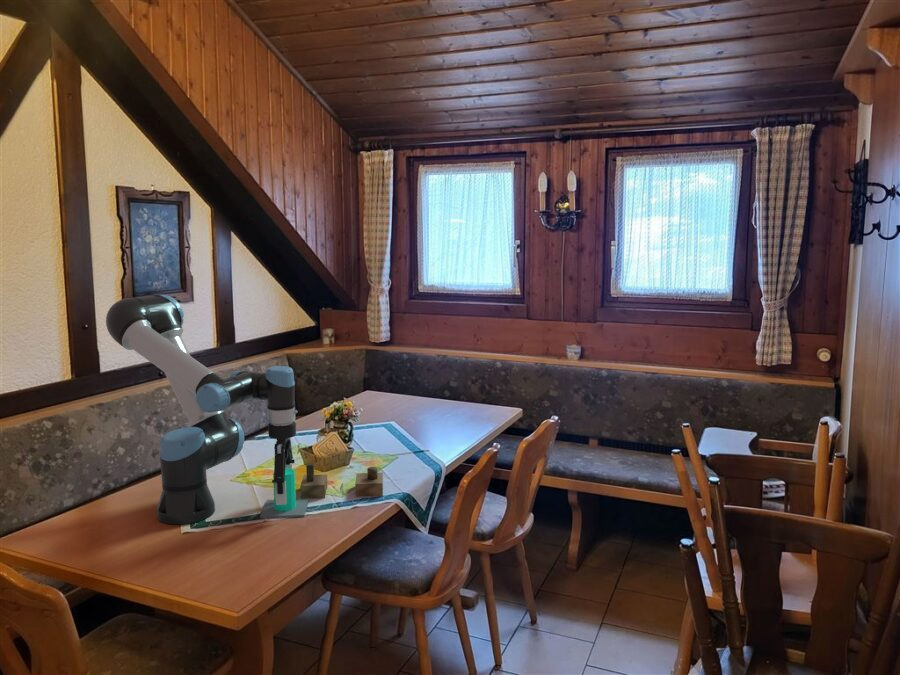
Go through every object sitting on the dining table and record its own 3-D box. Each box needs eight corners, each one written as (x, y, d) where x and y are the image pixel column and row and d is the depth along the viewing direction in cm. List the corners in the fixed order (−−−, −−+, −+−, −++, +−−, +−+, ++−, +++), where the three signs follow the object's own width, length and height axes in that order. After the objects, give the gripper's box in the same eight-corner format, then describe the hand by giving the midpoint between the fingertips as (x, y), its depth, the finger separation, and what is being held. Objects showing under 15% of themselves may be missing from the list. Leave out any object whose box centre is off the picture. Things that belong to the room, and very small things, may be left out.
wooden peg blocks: (300, 498, 212) (299, 469, 211) (304, 487, 221) (303, 459, 219) (382, 496, 214) (382, 467, 213) (382, 485, 223) (382, 457, 222)
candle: (290, 512, 201) (289, 470, 199) (270, 510, 202) (269, 469, 200) (299, 503, 207) (298, 463, 205) (279, 502, 208) (278, 462, 206)
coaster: (260, 518, 198) (260, 516, 198) (267, 501, 210) (267, 499, 210) (304, 516, 199) (304, 514, 199) (308, 500, 211) (308, 498, 211)
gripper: (289, 435, 188) (292, 511, 192) (300, 410, 213) (303, 478, 216) (260, 435, 188) (263, 512, 191) (275, 410, 212) (277, 479, 216)
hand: (284, 495), depth 204 cm, fingers open, 13 cm apart
